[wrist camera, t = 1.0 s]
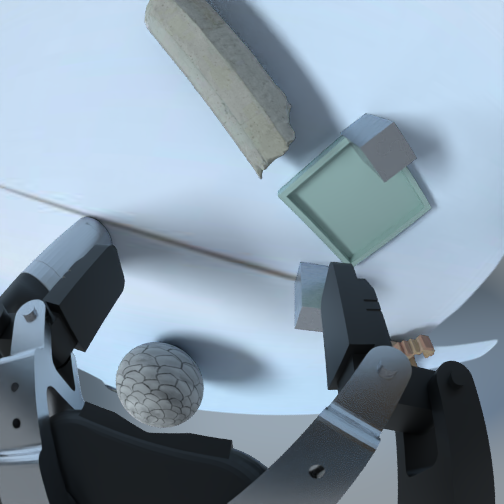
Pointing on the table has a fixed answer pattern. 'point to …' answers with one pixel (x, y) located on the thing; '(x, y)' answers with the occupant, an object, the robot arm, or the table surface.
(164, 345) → the decorative sphere
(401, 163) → the post
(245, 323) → the table surface
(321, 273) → the post
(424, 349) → the toy
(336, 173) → the tray
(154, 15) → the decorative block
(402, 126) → the table surface
